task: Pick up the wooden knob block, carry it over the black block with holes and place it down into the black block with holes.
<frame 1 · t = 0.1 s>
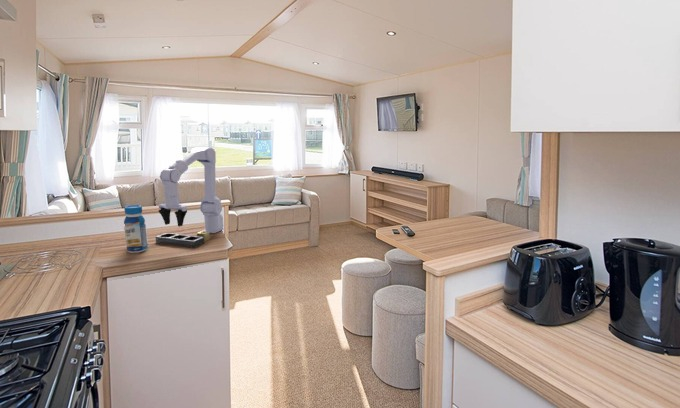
hand: (173, 225, 177), 10 cm above the worktop, fingers open, 7 cm apart
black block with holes: (180, 243, 183), on the worktop
wooden knob block: (203, 240, 189), on the worktop
can: (140, 245, 180), on the worktop
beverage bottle: (137, 250, 173), on the worktop
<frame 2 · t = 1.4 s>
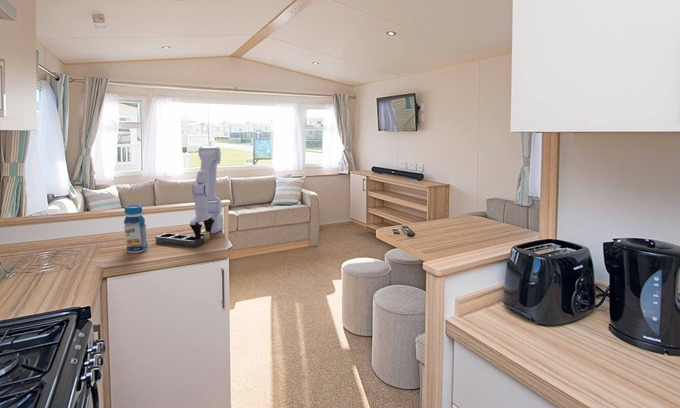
hand: (203, 235, 188), 2 cm above the worktop, fingers open, 7 cm apart
nothing on the worktop moved.
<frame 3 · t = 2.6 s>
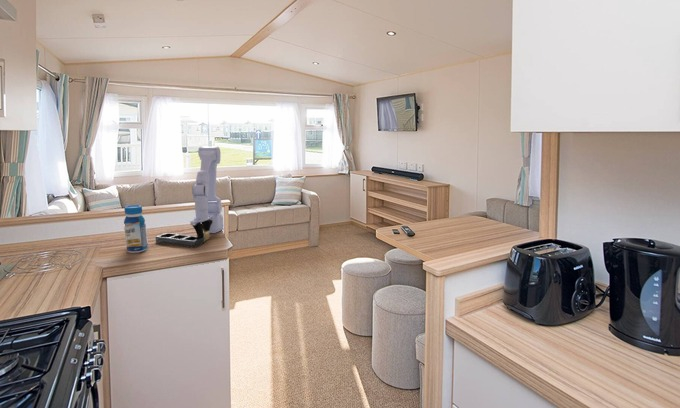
hand: (203, 236, 188), 2 cm above the worktop, fingers closed on wooden knob block, 4 cm apart
wooden knob block: (203, 239, 189), on the worktop, touching gripper
everything else where it was.
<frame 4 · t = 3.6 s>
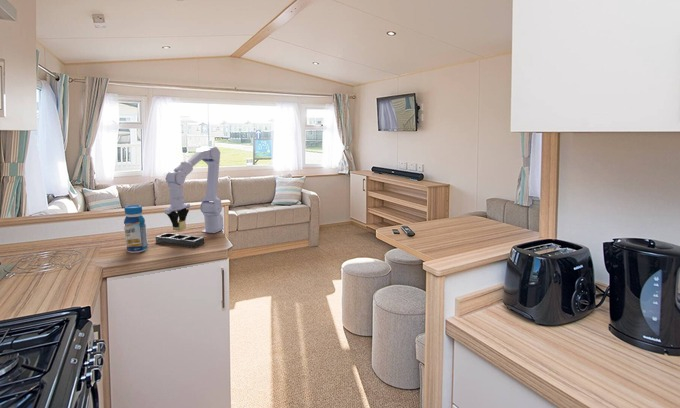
hand: (178, 225, 182), 8 cm above the worktop, fingers closed on wooden knob block, 4 cm apart
wooden knob block: (179, 229, 182), point 7 cm above the worktop, touching gripper
everything else where it was.
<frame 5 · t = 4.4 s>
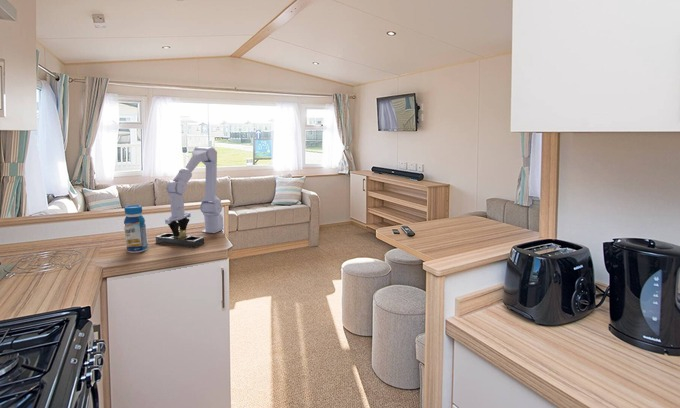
hand: (179, 235, 183), 4 cm above the worktop, fingers closed on wooden knob block, 4 cm apart
wooden knob block: (180, 238, 183), point 2 cm above the worktop, touching gripper
everything else where it was.
when the fingers open (3 cm above the worktop, at t = 5.0 s): wooden knob block stays where it is, resting on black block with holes.
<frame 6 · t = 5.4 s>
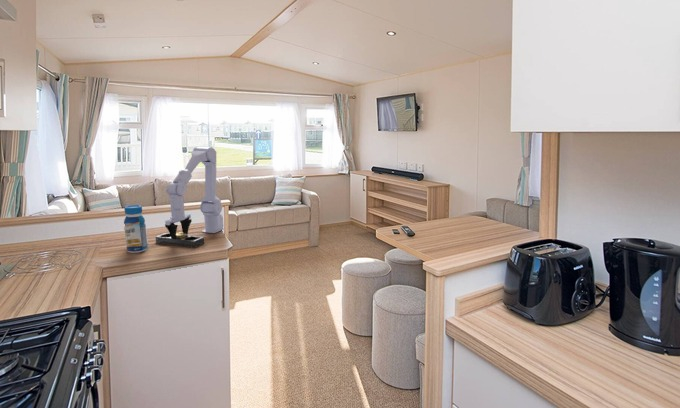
hand: (179, 236, 183), 3 cm above the worktop, fingers open, 7 cm apart
wooden knob block: (180, 242, 183), resting on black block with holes
everything else where it was.
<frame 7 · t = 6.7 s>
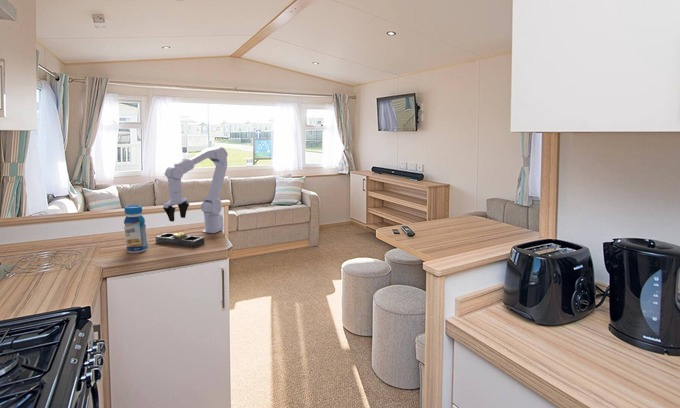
hand: (177, 219, 188), 10 cm above the worktop, fingers open, 7 cm apart
nothing on the worktop moved.
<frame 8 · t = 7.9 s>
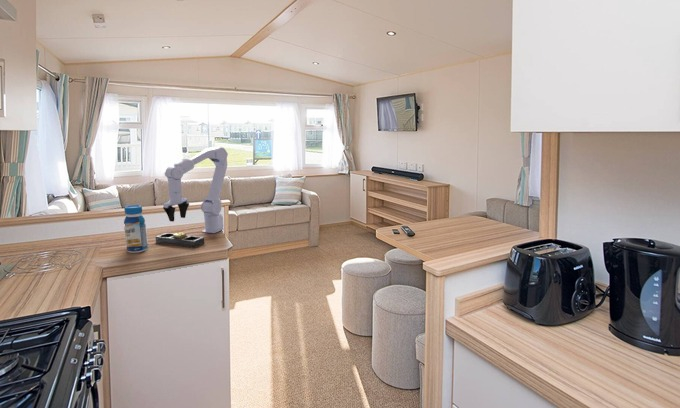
hand: (177, 219, 188), 10 cm above the worktop, fingers open, 7 cm apart
nothing on the worktop moved.
at the end: wooden knob block 0.1 cm off-centre on the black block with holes, point 0.5 cm above the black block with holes's base; the gripper is holding nothing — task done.
